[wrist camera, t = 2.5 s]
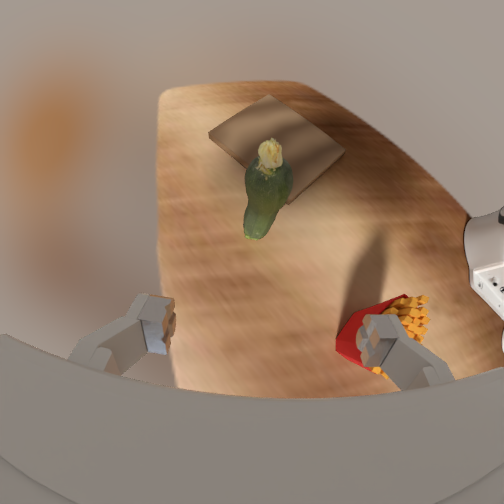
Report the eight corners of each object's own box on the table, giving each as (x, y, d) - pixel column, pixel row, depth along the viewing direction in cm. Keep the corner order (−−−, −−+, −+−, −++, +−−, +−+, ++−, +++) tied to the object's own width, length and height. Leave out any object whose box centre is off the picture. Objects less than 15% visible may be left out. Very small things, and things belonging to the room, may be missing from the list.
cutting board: (343, 155, 41) (345, 149, 40) (288, 205, 38) (290, 200, 37) (268, 100, 44) (269, 94, 43) (209, 138, 41) (208, 132, 39)
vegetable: (250, 212, 37) (261, 104, 18) (279, 224, 37) (316, 123, 18) (237, 240, 36) (236, 143, 17) (267, 253, 36) (299, 166, 17)
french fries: (361, 299, 35) (416, 281, 22) (382, 317, 34) (442, 306, 22) (322, 355, 32) (367, 365, 20) (346, 372, 32) (397, 388, 19)
